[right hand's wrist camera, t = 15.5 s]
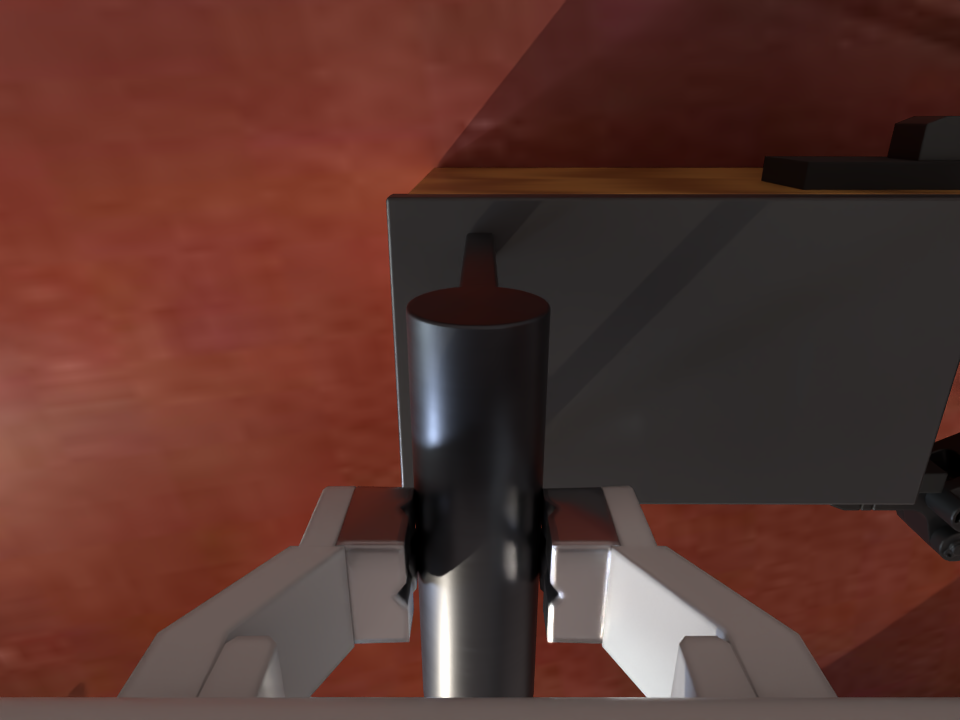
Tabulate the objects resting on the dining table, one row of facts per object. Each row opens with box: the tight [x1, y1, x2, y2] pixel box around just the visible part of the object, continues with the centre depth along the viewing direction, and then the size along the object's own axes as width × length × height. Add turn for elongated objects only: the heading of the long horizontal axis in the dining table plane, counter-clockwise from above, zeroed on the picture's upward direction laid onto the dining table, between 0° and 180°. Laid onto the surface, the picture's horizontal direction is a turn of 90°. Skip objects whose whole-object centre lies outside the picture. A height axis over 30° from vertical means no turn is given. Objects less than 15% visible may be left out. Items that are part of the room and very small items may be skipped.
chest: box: [409, 168, 960, 194], centre depth 22 cm, size 15×9×9 cm, turn 90°
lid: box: [386, 194, 960, 698], centre depth 13 cm, size 16×9×9 cm, turn 90°
